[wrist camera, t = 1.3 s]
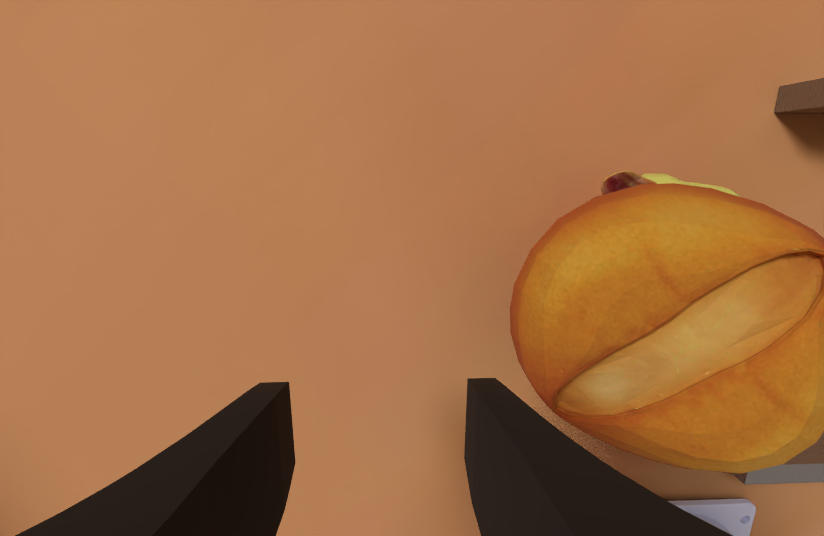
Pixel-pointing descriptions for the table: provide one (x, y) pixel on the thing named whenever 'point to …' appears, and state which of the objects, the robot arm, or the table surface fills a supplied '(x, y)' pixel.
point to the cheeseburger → (678, 324)
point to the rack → (820, 457)
